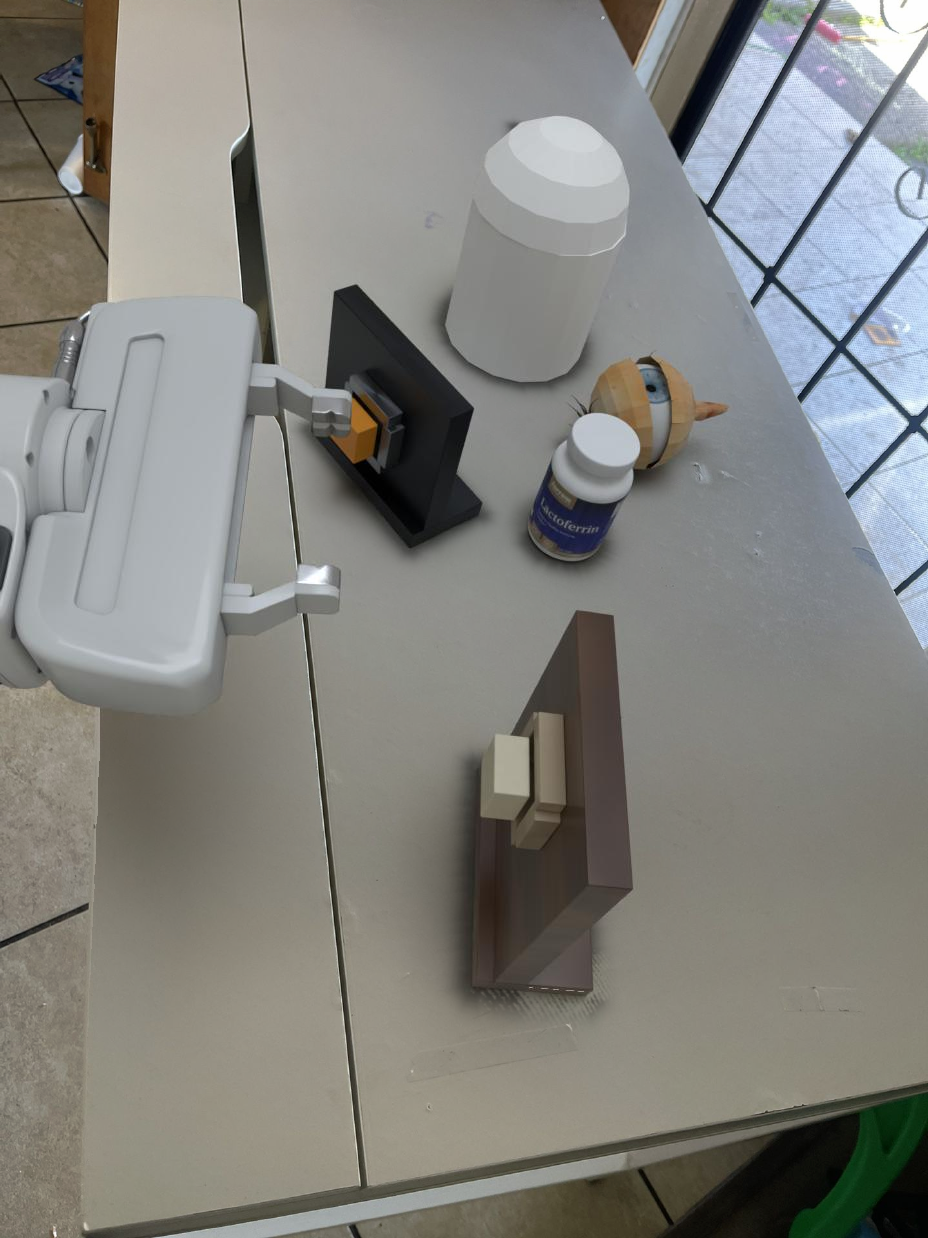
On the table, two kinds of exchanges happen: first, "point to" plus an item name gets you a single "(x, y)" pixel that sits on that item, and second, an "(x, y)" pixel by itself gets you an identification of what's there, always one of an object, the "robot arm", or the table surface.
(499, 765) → the button near
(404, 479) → the black button panel
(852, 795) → the table surface
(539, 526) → the pill bottle
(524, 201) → the container
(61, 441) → the robot arm
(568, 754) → the brown button panel
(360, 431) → the button far
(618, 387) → the sculpture
